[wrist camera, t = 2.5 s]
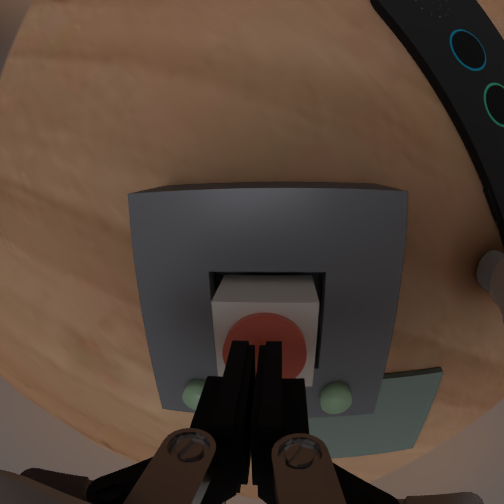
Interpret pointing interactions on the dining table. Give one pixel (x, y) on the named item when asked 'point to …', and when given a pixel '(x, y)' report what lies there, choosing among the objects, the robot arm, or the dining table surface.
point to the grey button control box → (271, 263)
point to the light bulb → (493, 276)
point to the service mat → (382, 417)
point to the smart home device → (460, 76)
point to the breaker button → (268, 319)
